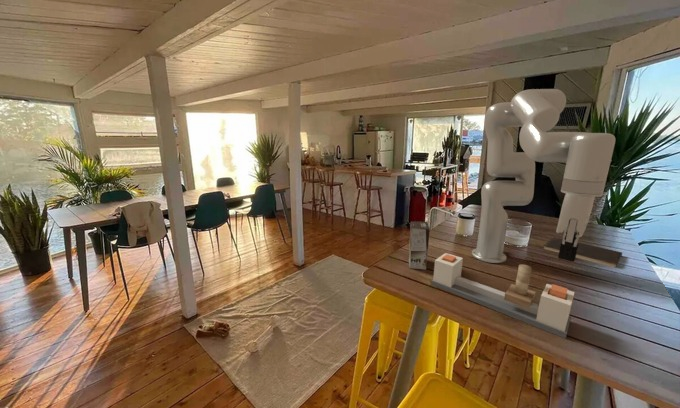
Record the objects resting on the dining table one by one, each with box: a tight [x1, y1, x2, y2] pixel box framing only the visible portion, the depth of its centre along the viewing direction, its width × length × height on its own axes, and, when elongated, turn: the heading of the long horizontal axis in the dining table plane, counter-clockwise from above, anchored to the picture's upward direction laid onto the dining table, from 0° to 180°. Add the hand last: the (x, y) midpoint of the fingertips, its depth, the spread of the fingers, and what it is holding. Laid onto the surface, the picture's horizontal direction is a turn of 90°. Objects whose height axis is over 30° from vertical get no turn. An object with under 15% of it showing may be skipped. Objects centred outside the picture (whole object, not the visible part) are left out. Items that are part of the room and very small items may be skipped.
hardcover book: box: [543, 236, 623, 268], centre depth 117 cm, size 16×23×2 cm
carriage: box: [504, 264, 537, 309], centre depth 77 cm, size 7×6×10 cm
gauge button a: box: [442, 254, 456, 263], centre depth 92 cm, size 3×3×4 cm
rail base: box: [430, 252, 575, 339], centre depth 83 cm, size 9×36×9 cm, turn 45°
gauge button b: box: [549, 283, 569, 300], centre depth 72 cm, size 3×3×4 cm
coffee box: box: [408, 221, 431, 270], centre depth 106 cm, size 9×6×16 cm
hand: (566, 258), depth 69 cm, fingers closed
